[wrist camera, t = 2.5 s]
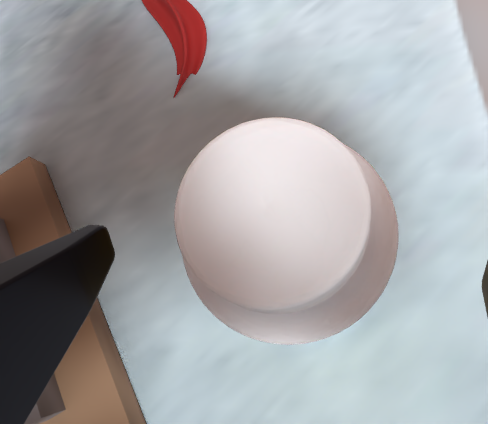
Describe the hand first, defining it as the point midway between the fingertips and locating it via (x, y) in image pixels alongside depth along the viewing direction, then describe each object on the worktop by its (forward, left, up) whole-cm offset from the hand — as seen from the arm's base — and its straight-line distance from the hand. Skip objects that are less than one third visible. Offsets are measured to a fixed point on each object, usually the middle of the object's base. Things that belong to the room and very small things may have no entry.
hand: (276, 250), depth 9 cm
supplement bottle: (+1, 0, -9) cm, 9 cm away
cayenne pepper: (+17, +5, -9) cm, 19 cm away
